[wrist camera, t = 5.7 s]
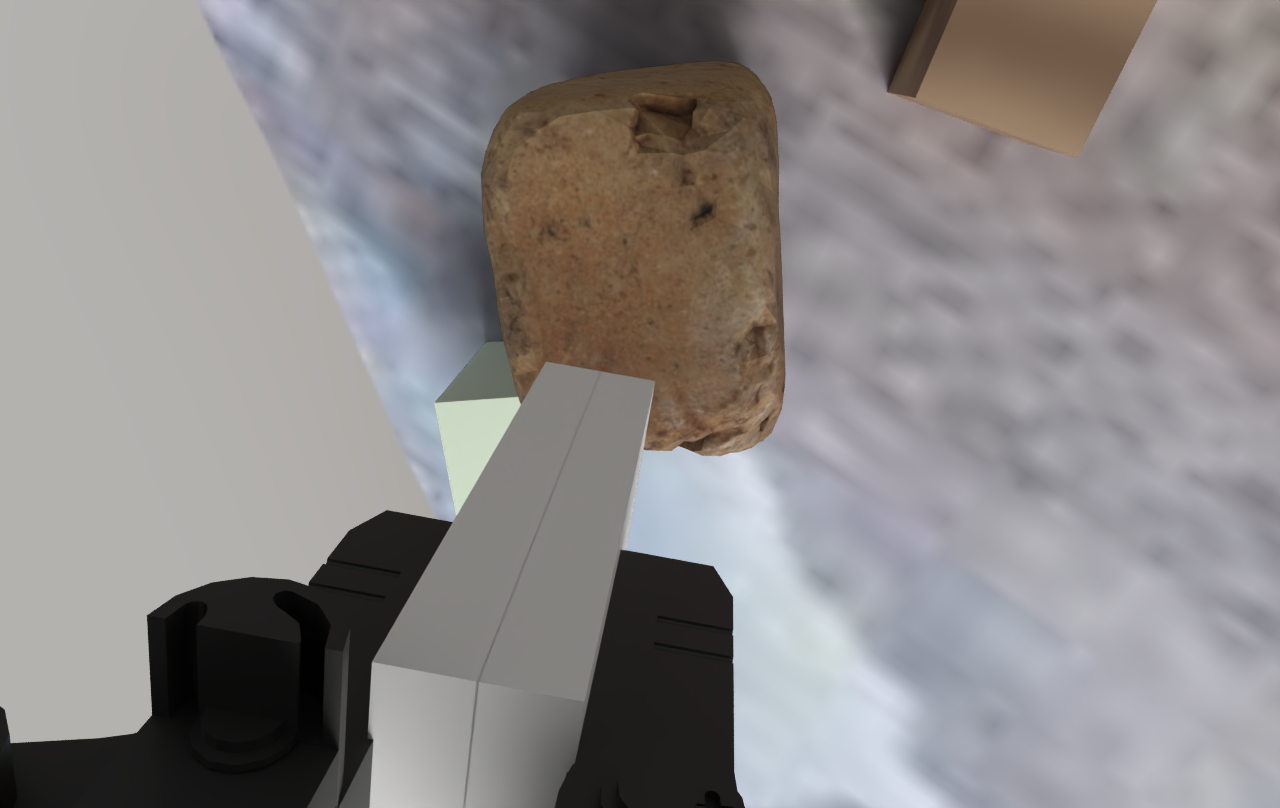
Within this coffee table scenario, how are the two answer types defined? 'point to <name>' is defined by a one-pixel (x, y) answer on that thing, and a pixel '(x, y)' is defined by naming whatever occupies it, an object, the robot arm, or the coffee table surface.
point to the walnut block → (1021, 64)
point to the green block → (475, 416)
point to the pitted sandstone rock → (646, 243)
